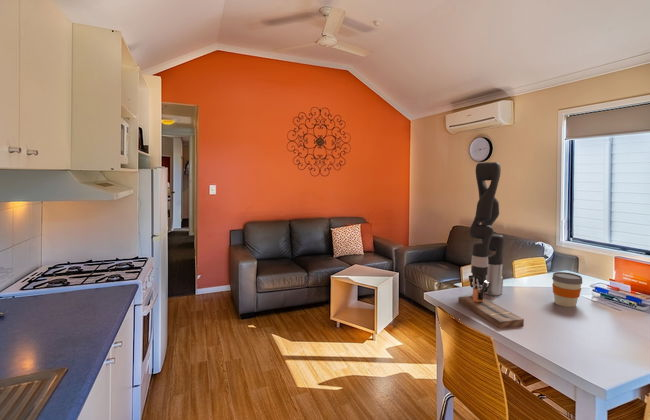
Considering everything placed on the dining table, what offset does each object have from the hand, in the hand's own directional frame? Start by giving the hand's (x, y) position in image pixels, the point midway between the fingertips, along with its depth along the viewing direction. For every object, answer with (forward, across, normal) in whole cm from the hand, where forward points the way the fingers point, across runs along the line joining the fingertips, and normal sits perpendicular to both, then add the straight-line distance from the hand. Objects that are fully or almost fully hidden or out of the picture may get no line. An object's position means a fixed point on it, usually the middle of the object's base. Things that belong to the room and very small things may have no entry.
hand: (478, 298), depth 168 cm
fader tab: (+1, 0, 0) cm, 1 cm away
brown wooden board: (+5, -8, 0) cm, 9 cm away
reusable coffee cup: (+5, -6, -47) cm, 48 cm away
